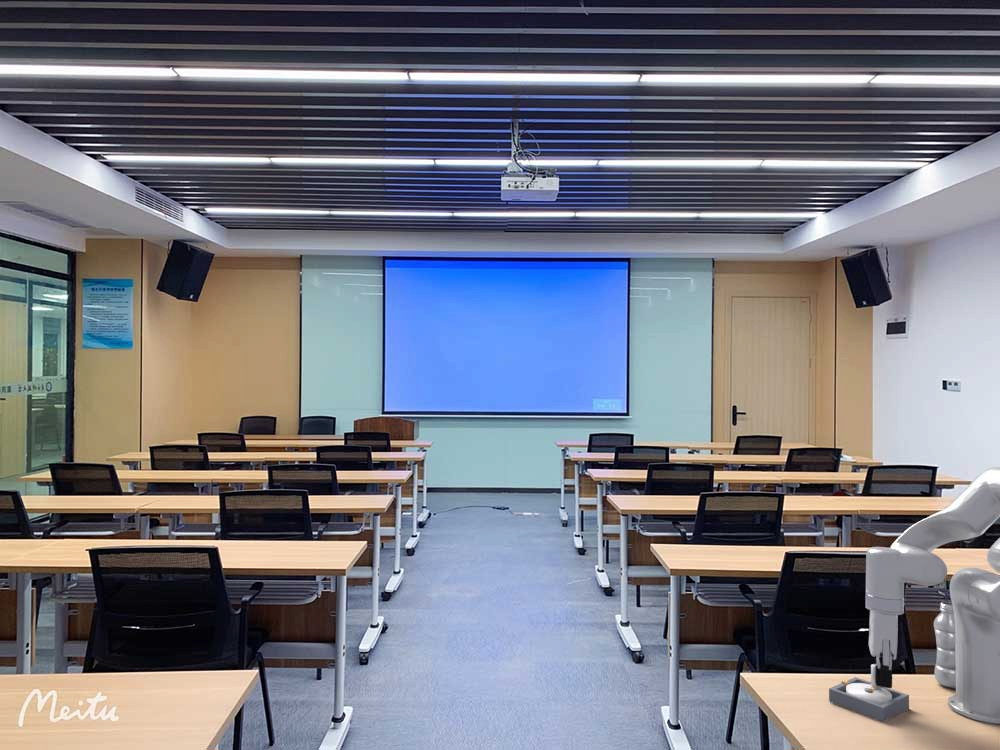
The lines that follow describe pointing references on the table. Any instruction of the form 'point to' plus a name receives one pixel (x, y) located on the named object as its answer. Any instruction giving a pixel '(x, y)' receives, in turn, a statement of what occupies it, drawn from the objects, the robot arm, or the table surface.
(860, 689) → the white crank wheel
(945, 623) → the plastic bottle
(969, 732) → the table surface
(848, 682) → the housing
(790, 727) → the table surface
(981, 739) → the table surface
